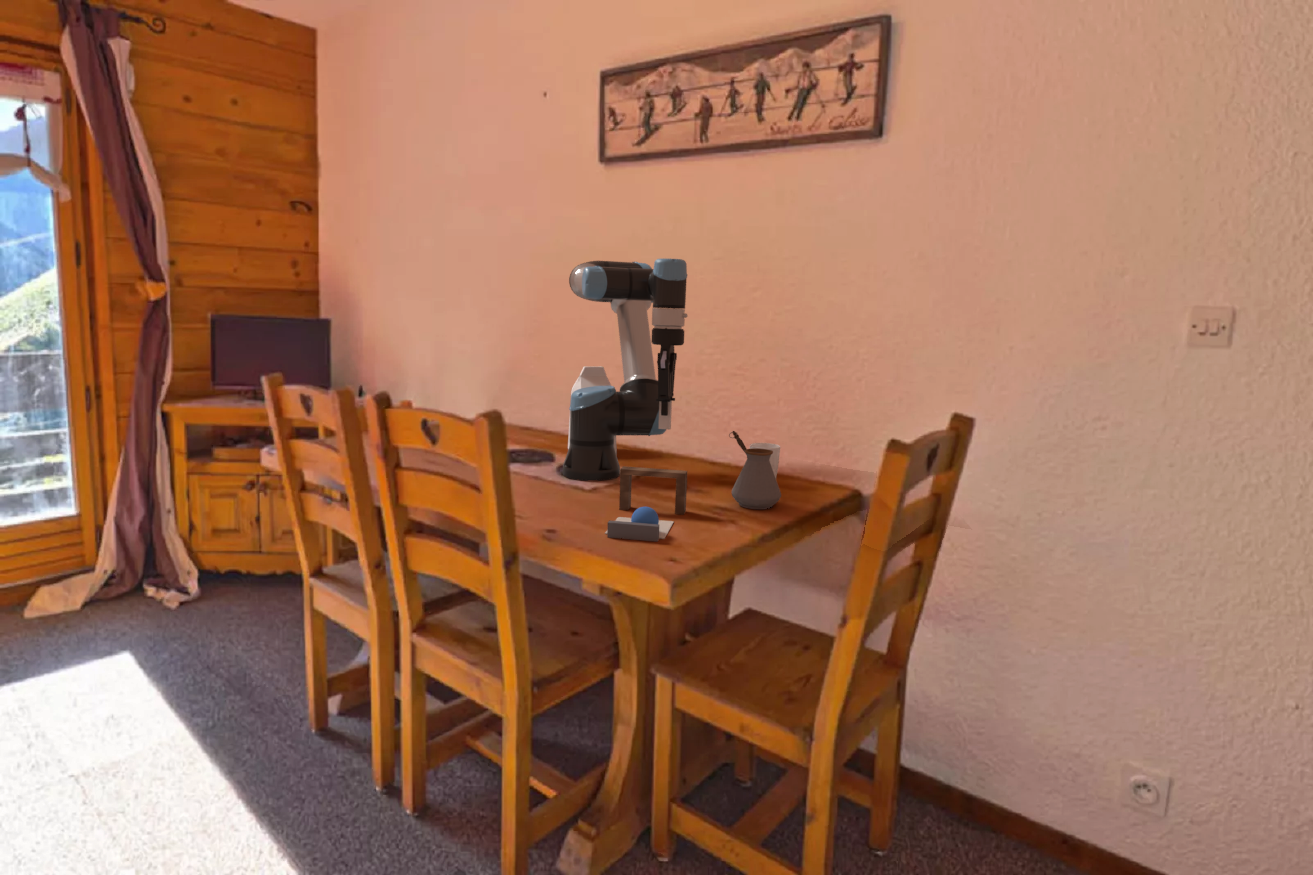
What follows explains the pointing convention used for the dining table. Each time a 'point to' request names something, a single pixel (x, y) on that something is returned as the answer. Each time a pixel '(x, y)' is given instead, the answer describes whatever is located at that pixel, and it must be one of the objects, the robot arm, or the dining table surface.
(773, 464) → the white cup
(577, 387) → the milk
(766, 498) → the coffee pot
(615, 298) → the robot arm
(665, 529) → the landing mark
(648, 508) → the ball
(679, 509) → the bridge
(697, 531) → the dining table surface
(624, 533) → the stopper wall
